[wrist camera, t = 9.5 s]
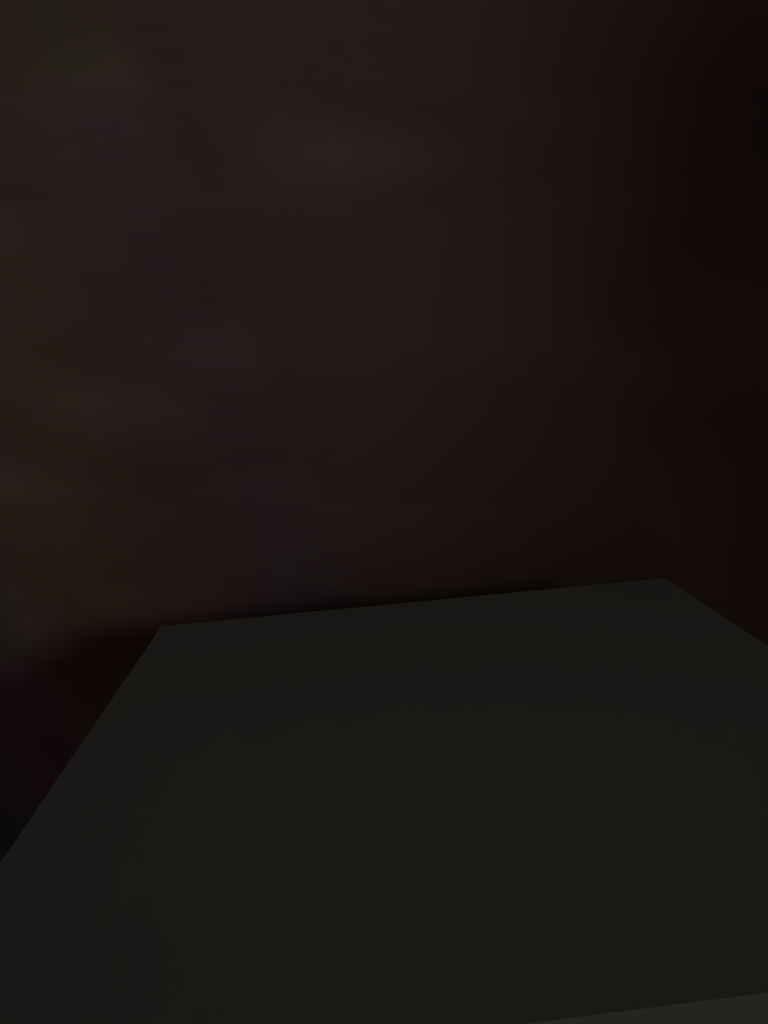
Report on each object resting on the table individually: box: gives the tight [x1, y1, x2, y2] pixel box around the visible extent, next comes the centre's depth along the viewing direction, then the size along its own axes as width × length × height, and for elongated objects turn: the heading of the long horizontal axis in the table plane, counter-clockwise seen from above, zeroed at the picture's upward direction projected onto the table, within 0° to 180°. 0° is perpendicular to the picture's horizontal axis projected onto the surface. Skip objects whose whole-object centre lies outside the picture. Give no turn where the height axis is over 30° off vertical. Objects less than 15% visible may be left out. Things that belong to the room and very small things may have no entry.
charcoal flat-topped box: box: [0, 578, 768, 1024], centre depth 10 cm, size 10×10×9 cm
